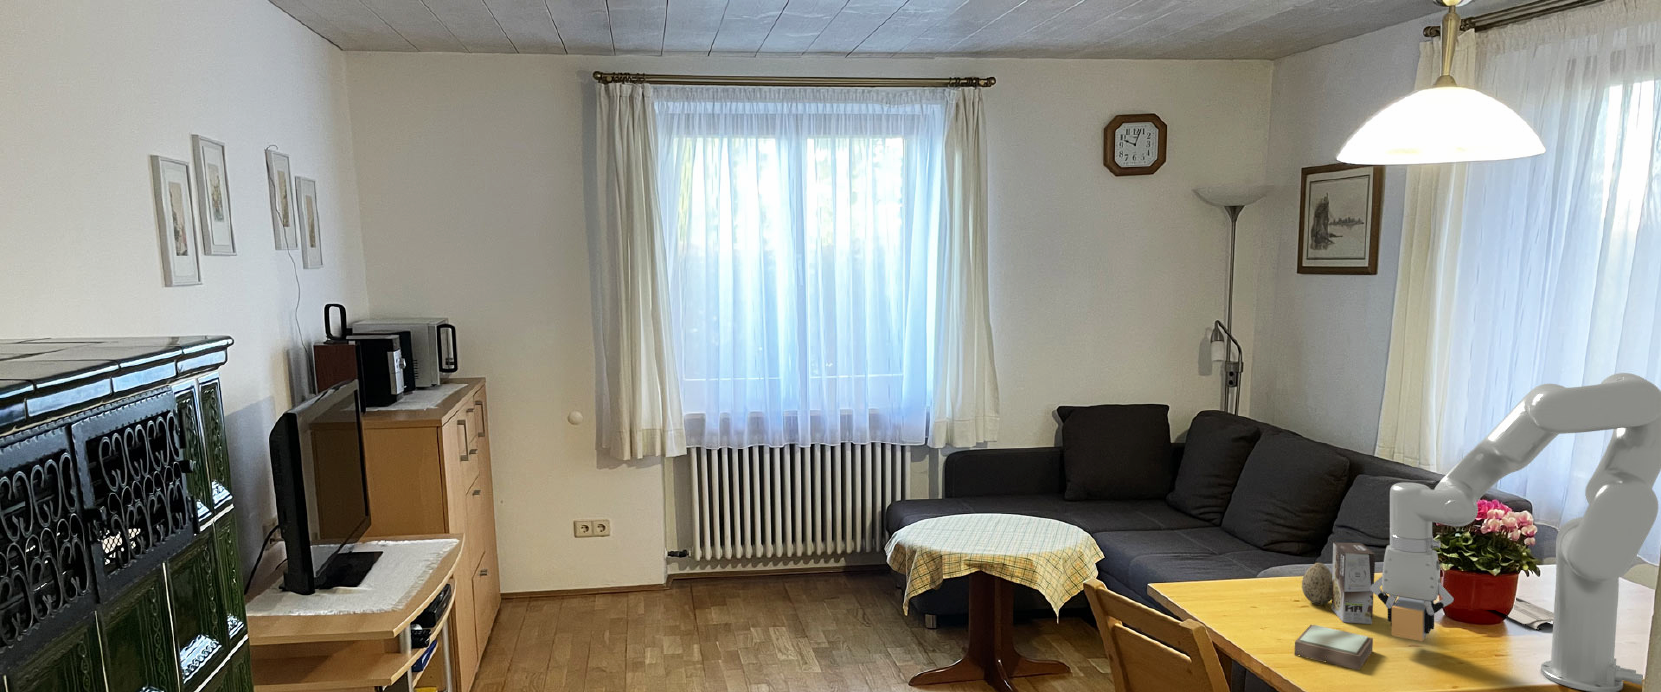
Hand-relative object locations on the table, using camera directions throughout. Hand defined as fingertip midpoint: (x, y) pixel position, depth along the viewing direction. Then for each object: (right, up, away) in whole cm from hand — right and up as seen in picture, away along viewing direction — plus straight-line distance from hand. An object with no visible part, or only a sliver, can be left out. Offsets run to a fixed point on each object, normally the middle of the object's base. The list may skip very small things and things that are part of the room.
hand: (1410, 627), depth 202 cm
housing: (0, -1, 0) cm, 1 cm away
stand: (-16, -5, 0) cm, 17 cm away
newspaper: (+35, -3, +28) cm, 46 cm away
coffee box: (-2, -3, +20) cm, 20 cm away
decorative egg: (-5, -3, +28) cm, 29 cm away
